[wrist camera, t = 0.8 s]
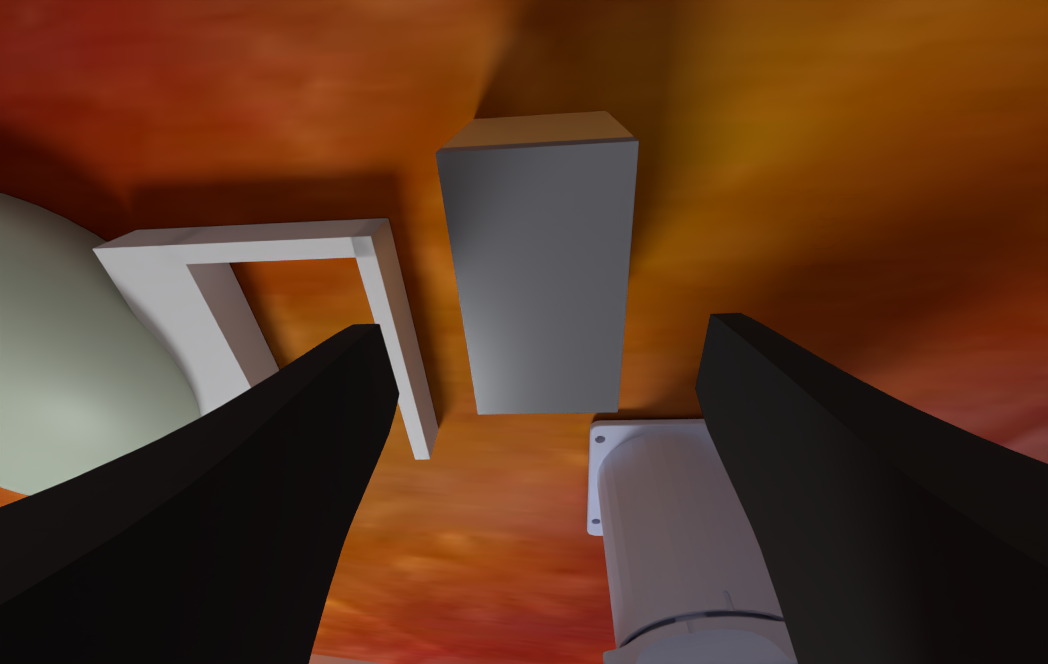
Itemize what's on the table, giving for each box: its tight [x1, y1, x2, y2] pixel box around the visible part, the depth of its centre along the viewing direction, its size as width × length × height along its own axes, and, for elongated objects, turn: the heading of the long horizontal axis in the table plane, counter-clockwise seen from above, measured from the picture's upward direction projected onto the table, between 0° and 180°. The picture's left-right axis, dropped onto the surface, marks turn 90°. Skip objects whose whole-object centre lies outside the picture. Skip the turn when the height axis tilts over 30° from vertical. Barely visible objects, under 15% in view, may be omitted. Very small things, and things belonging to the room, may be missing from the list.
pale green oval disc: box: [0, 193, 439, 495], centre depth 19 cm, size 16×26×3 cm, turn 94°
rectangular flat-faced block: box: [436, 111, 639, 414], centre depth 14 cm, size 8×4×6 cm, turn 4°
